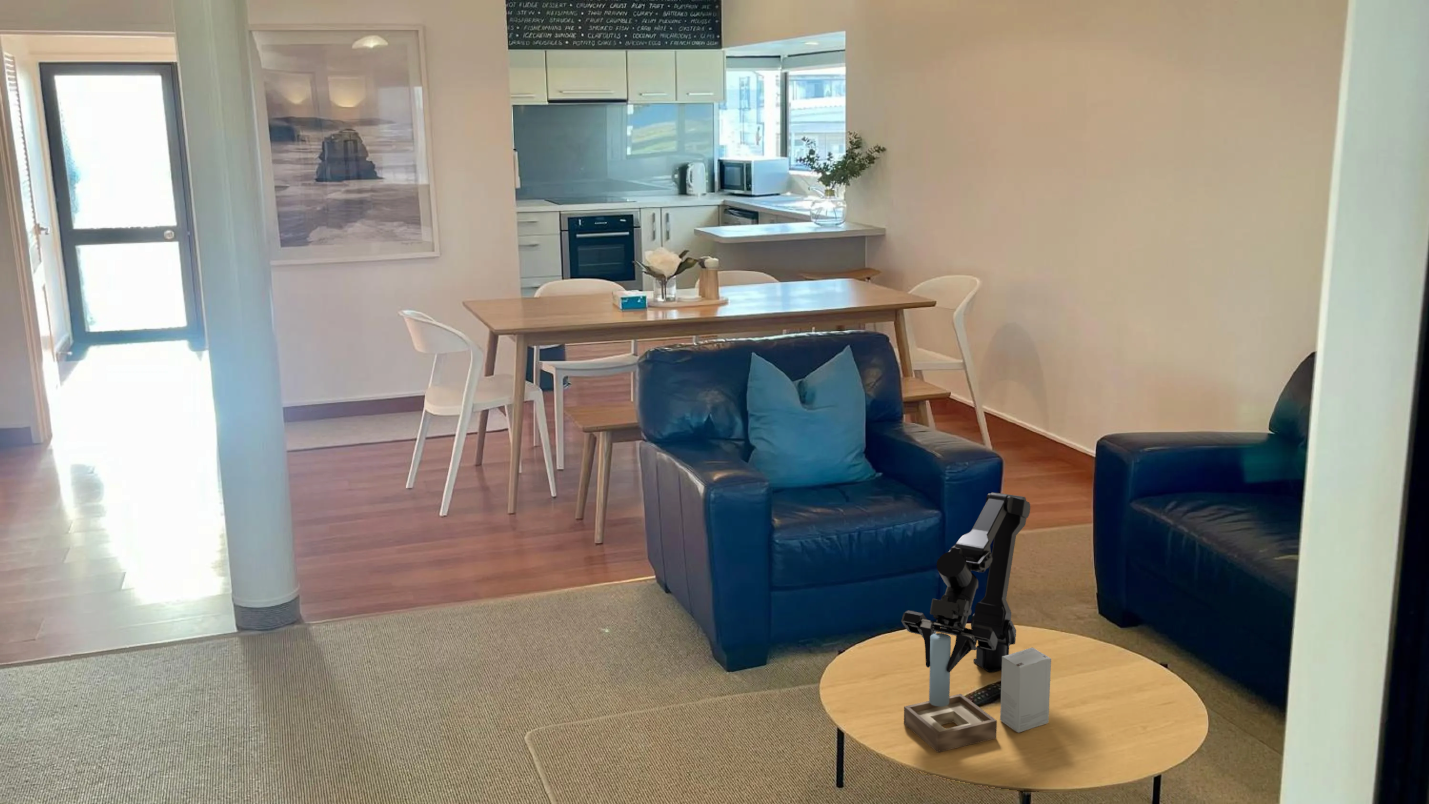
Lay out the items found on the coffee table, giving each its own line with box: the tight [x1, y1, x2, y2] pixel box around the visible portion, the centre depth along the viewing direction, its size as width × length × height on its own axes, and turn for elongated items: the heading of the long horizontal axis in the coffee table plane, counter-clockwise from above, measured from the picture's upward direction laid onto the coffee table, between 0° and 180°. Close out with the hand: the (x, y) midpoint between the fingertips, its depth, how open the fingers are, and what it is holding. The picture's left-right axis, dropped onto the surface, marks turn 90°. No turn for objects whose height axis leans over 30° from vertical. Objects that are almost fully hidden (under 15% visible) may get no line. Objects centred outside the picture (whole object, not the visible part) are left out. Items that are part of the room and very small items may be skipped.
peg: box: [928, 632, 952, 707], centre depth 235 cm, size 4×4×14 cm
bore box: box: [903, 693, 998, 753], centre depth 237 cm, size 14×13×4 cm
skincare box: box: [999, 647, 1052, 733], centre depth 238 cm, size 8×6×15 cm
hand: (937, 669), depth 234 cm, fingers closed on peg, 4 cm apart
